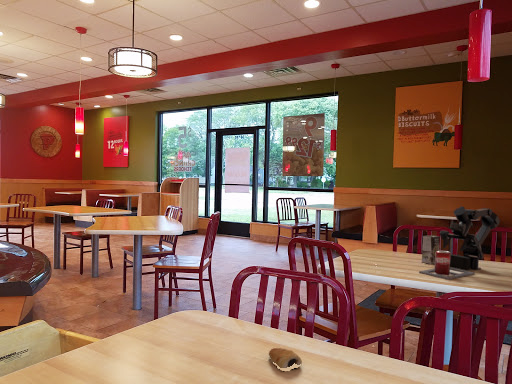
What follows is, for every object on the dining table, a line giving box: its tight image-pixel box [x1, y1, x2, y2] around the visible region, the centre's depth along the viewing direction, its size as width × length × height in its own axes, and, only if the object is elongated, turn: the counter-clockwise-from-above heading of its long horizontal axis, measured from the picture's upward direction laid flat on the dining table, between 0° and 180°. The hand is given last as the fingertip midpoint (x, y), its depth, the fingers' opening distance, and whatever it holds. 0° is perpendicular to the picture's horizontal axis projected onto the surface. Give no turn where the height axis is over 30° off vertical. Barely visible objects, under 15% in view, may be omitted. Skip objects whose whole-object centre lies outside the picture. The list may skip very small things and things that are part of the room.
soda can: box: [433, 249, 452, 277], centre depth 202 cm, size 7×7×12 cm
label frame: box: [418, 267, 476, 281], centre depth 205 cm, size 26×16×1 cm, turn 125°
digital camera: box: [450, 254, 471, 271], centre depth 220 cm, size 10×5×7 cm, turn 31°
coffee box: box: [421, 234, 441, 265], centre depth 232 cm, size 9×6×16 cm
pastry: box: [268, 347, 303, 368], centre depth 97 cm, size 9×7×4 cm
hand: (451, 249), depth 206 cm, fingers open, 9 cm apart
